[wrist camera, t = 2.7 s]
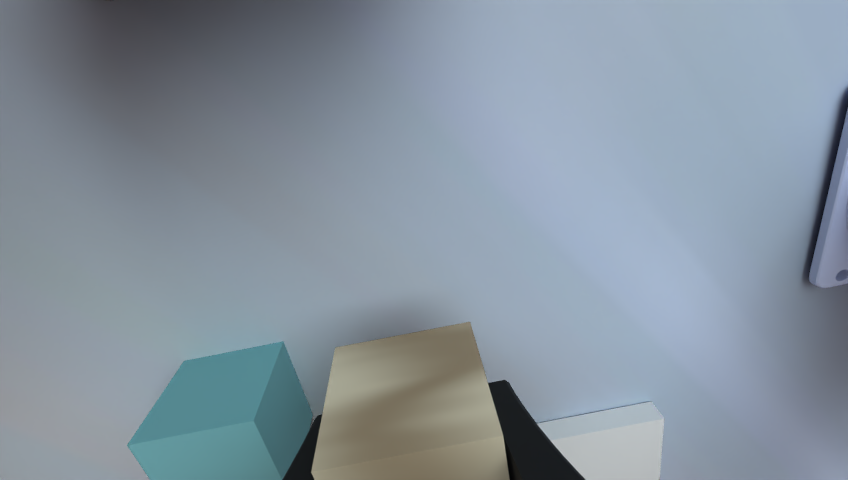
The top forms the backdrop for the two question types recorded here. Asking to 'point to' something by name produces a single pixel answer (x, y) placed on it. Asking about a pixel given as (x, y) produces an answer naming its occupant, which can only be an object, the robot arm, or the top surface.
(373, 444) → the birch brick
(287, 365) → the teal brick
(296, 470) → the robot arm
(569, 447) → the baseplate
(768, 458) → the top surface
